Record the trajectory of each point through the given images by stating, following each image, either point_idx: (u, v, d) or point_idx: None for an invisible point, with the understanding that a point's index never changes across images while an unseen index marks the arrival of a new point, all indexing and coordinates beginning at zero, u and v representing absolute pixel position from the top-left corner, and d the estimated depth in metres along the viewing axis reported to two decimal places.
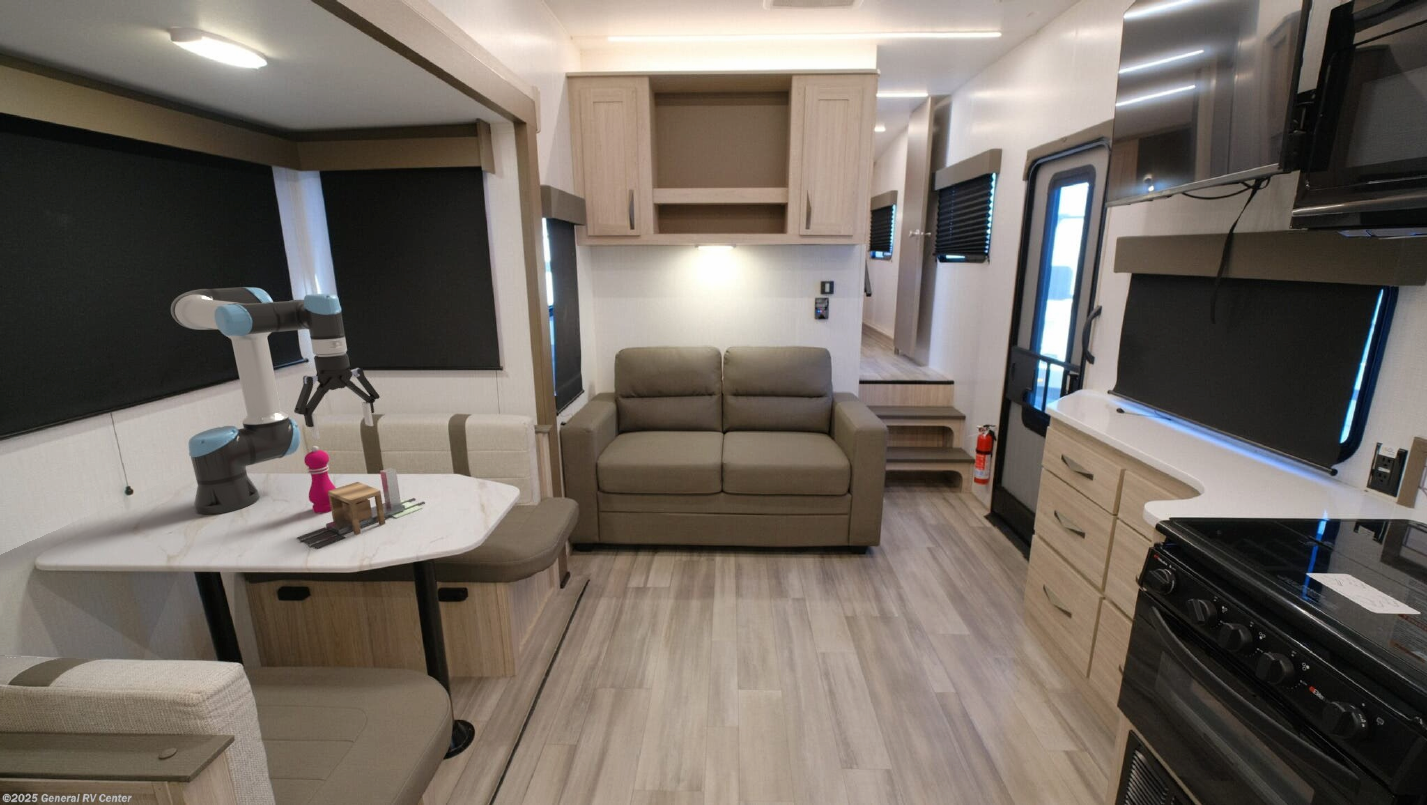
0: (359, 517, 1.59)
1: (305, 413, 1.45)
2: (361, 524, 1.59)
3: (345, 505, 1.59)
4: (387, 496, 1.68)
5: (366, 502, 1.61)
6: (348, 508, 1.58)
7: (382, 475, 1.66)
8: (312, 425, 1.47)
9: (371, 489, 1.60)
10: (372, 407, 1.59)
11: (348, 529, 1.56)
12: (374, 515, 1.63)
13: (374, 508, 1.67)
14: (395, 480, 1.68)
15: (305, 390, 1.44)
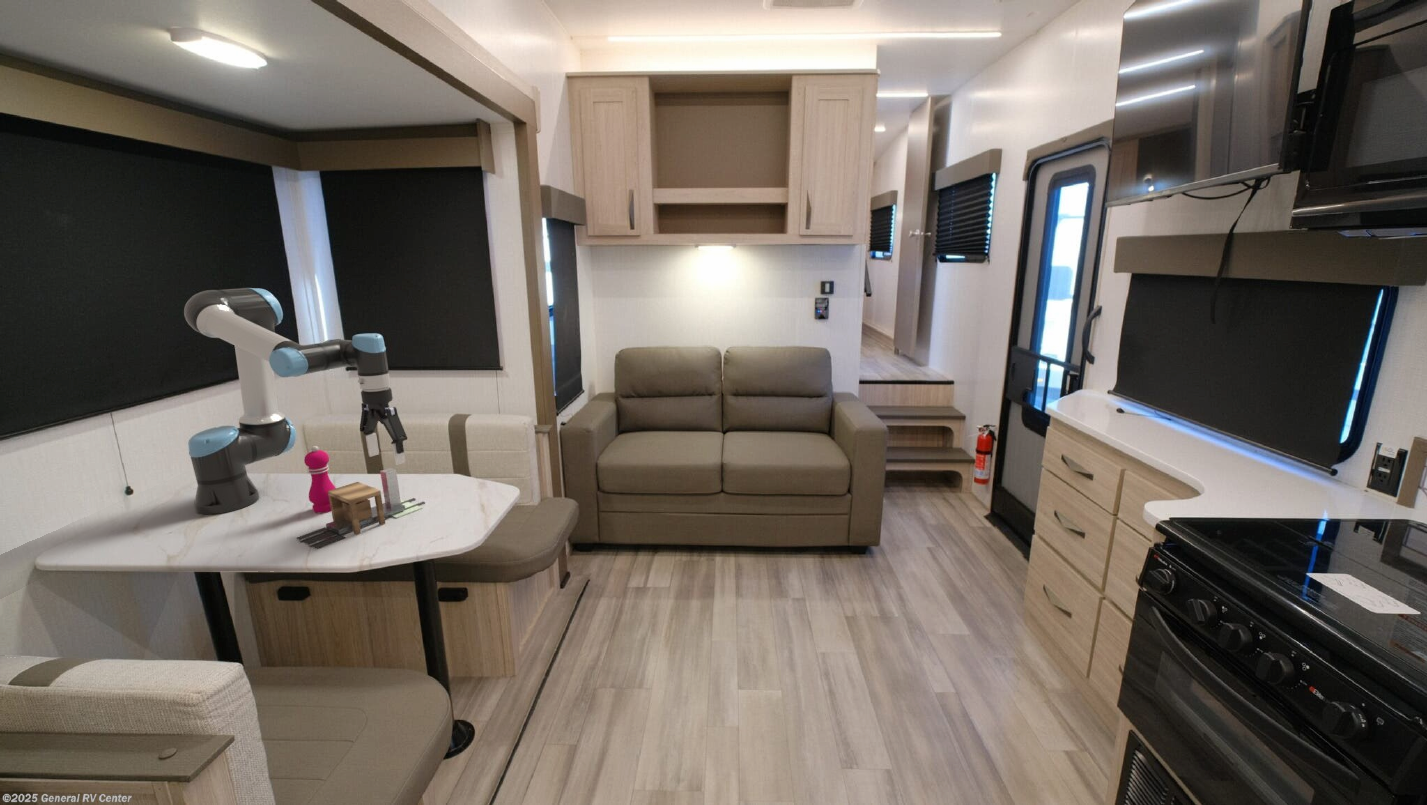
0: (359, 517, 1.59)
1: None
2: (361, 524, 1.59)
3: (345, 505, 1.59)
4: (387, 496, 1.68)
5: (366, 502, 1.61)
6: (348, 508, 1.58)
7: (382, 475, 1.66)
8: None
9: (371, 489, 1.60)
10: (397, 448, 1.60)
11: (348, 529, 1.56)
12: (374, 515, 1.63)
13: (374, 508, 1.67)
14: (395, 480, 1.68)
15: None
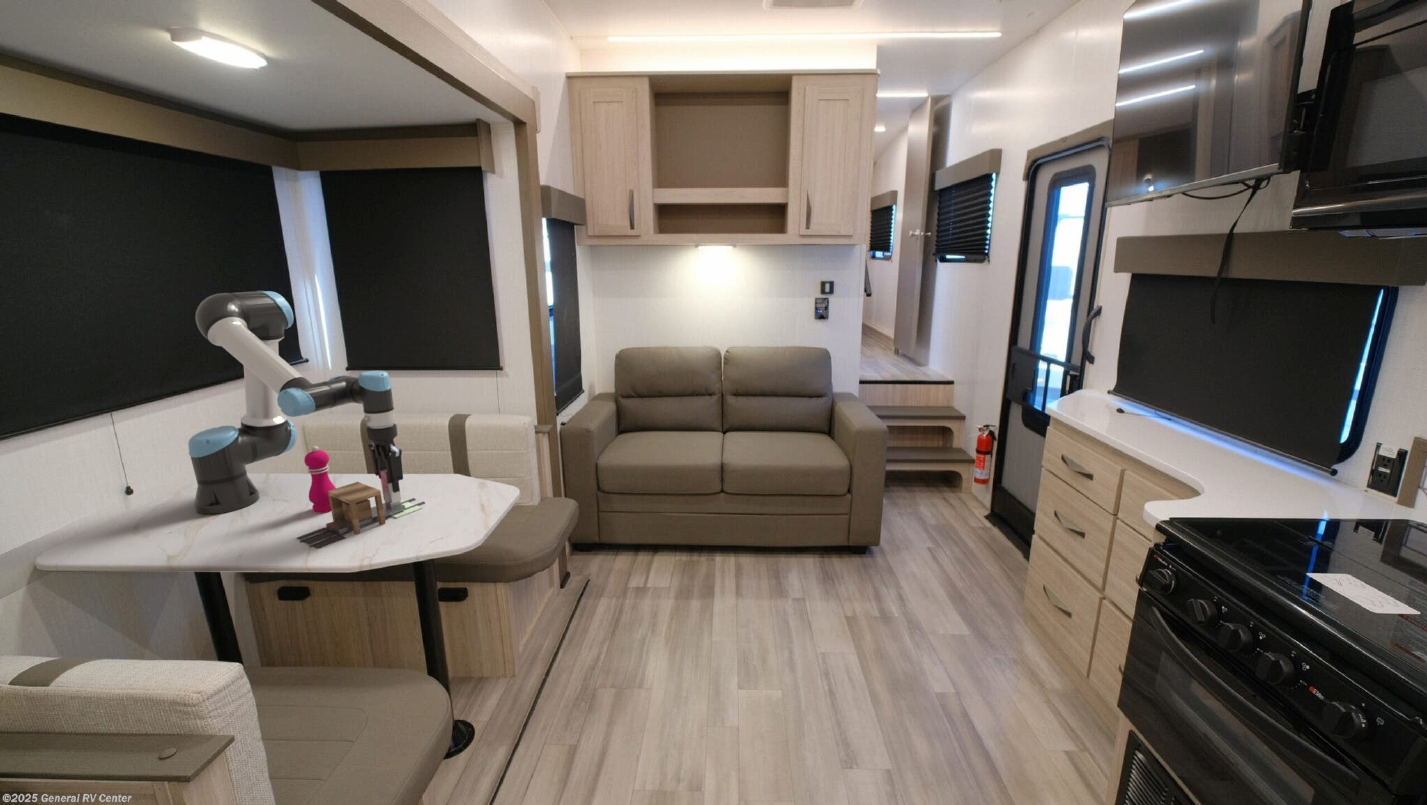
0: (359, 517, 1.59)
1: None
2: (361, 524, 1.59)
3: (345, 505, 1.59)
4: (387, 496, 1.68)
5: (366, 502, 1.61)
6: (348, 508, 1.58)
7: (382, 475, 1.66)
8: None
9: (371, 489, 1.60)
10: (393, 487, 1.66)
11: (348, 529, 1.56)
12: (374, 515, 1.63)
13: (374, 508, 1.67)
14: None
15: None
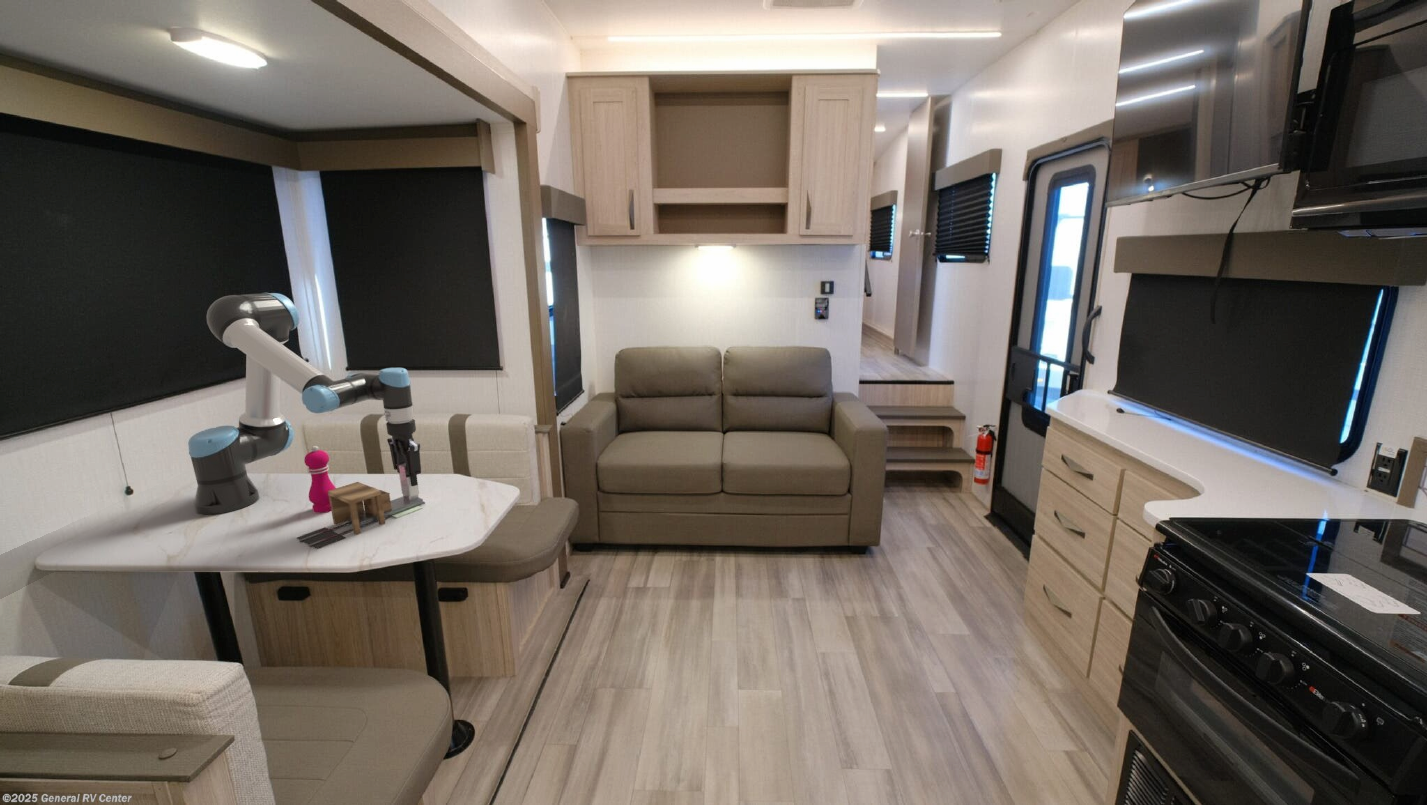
0: None
1: None
2: None
3: None
4: (405, 490, 1.72)
5: (386, 495, 1.65)
6: (368, 501, 1.63)
7: (401, 469, 1.71)
8: None
9: (371, 489, 1.60)
10: (412, 481, 1.71)
11: (369, 521, 1.61)
12: (393, 508, 1.68)
13: (393, 502, 1.72)
14: None
15: None
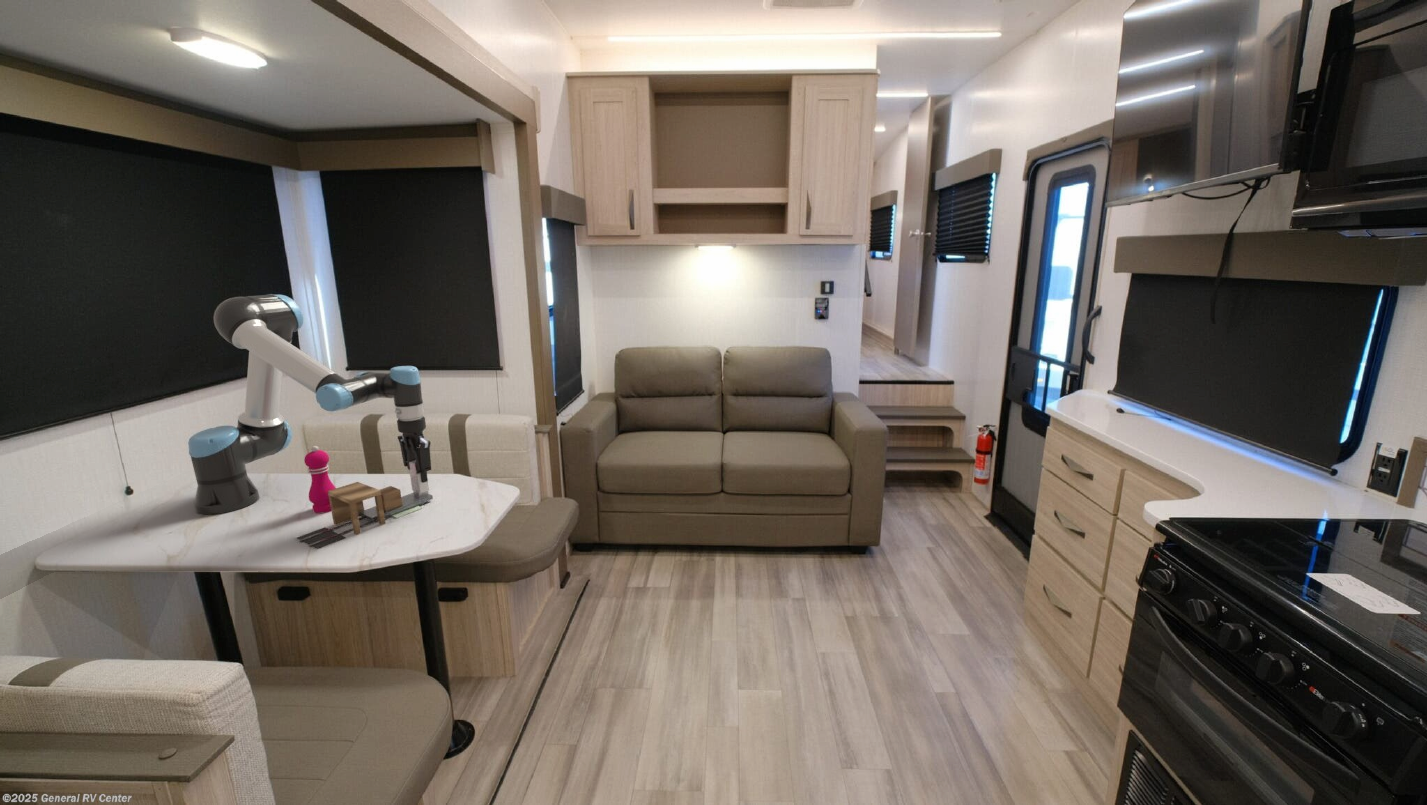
0: (390, 506, 1.67)
1: None
2: (392, 512, 1.66)
3: None
4: (416, 486, 1.75)
5: (397, 491, 1.68)
6: None
7: (411, 466, 1.74)
8: None
9: (371, 489, 1.60)
10: (422, 477, 1.74)
11: None
12: (404, 504, 1.70)
13: (403, 498, 1.74)
14: None
15: None
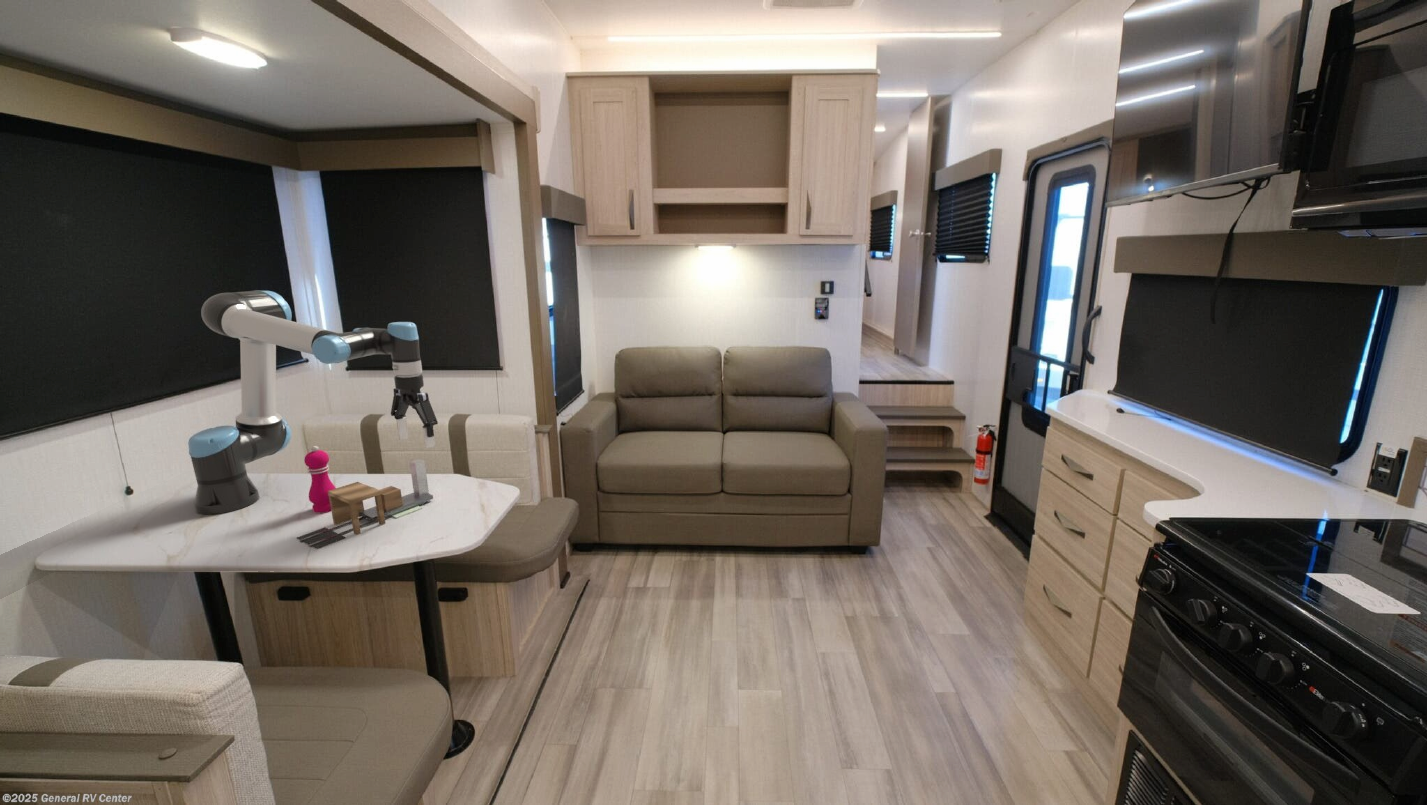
0: (391, 505, 1.67)
1: None
2: (393, 512, 1.67)
3: None
4: (416, 486, 1.75)
5: (397, 491, 1.68)
6: None
7: (412, 466, 1.74)
8: None
9: (371, 489, 1.60)
10: (428, 432, 1.68)
11: None
12: (404, 504, 1.70)
13: (403, 498, 1.75)
14: (424, 471, 1.75)
15: None
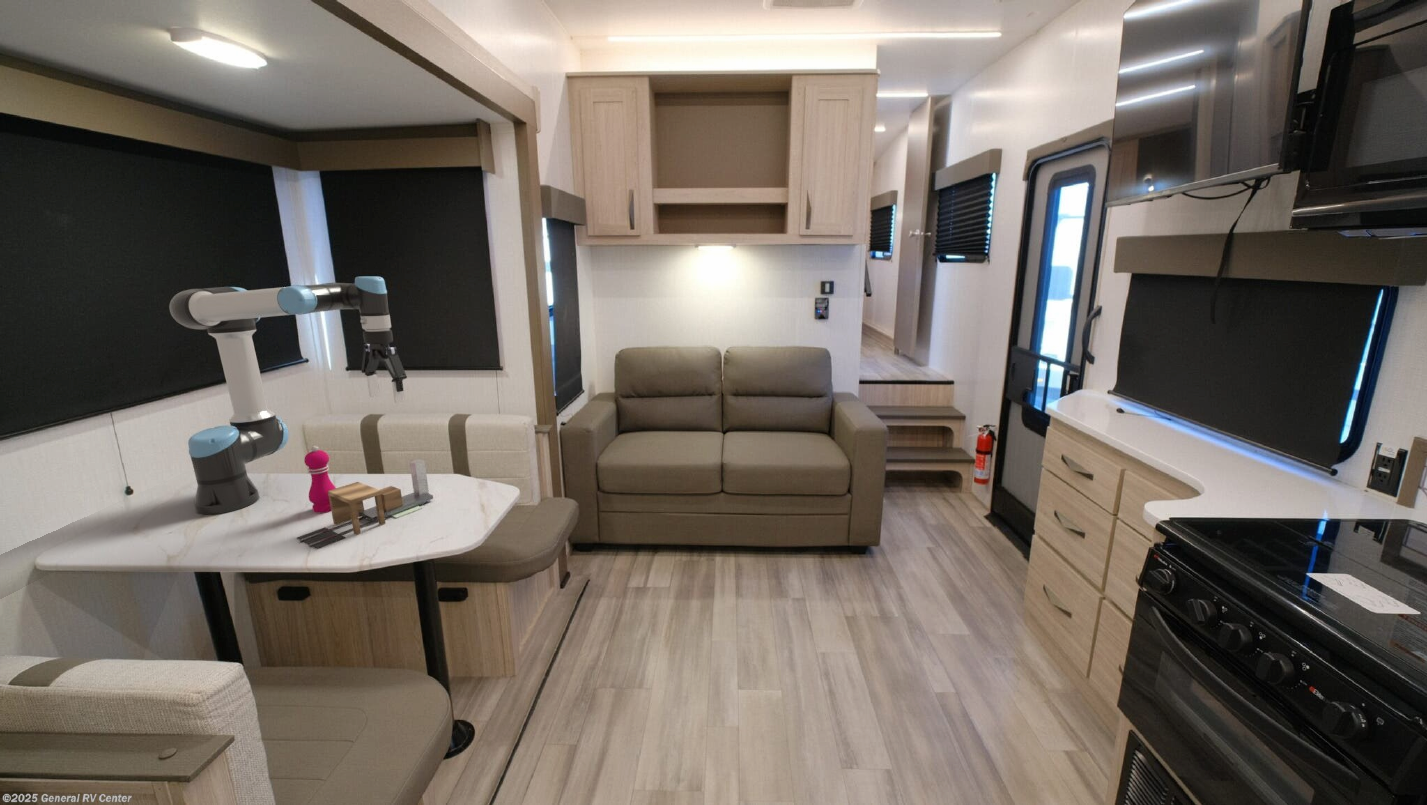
0: (391, 505, 1.67)
1: None
2: (393, 512, 1.67)
3: None
4: (416, 486, 1.75)
5: (397, 491, 1.68)
6: None
7: (412, 466, 1.74)
8: None
9: (371, 489, 1.60)
10: (397, 386, 1.68)
11: None
12: (404, 504, 1.70)
13: (403, 498, 1.75)
14: (424, 471, 1.75)
15: None
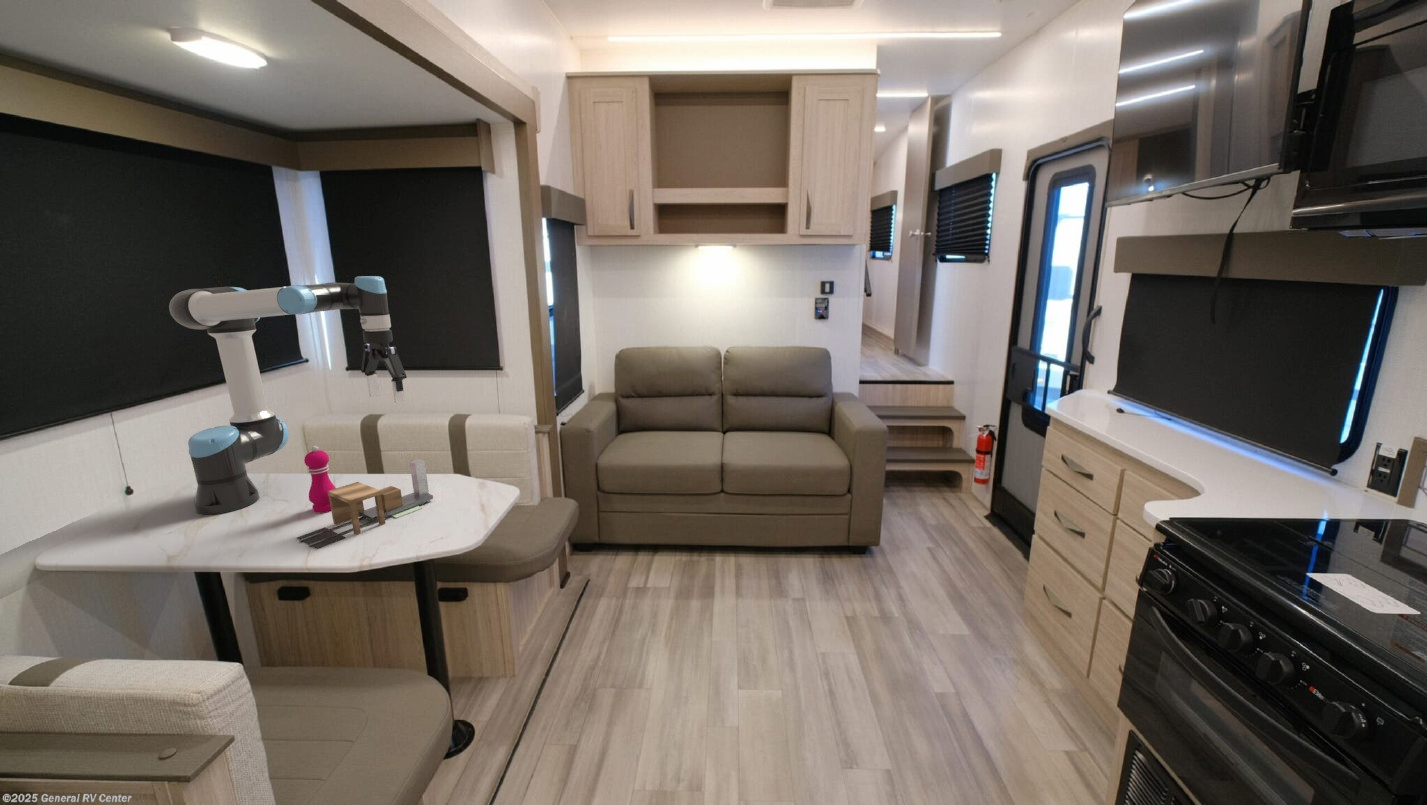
0: (391, 505, 1.67)
1: None
2: (393, 512, 1.67)
3: None
4: (416, 486, 1.75)
5: (397, 491, 1.68)
6: None
7: (412, 466, 1.74)
8: None
9: (371, 489, 1.60)
10: (397, 386, 1.68)
11: None
12: (404, 504, 1.70)
13: (403, 498, 1.75)
14: (424, 471, 1.75)
15: None
